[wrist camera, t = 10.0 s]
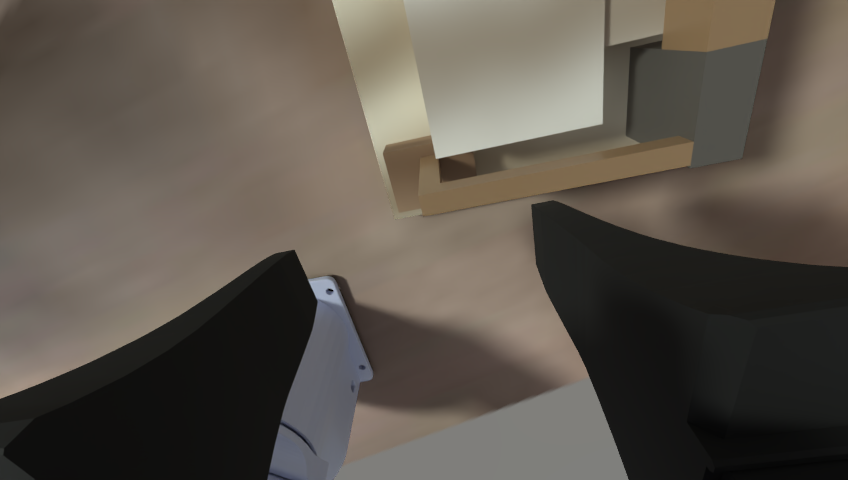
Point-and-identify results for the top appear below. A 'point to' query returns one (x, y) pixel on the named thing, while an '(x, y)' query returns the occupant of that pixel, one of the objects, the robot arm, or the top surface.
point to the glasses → (650, 109)
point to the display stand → (491, 81)
